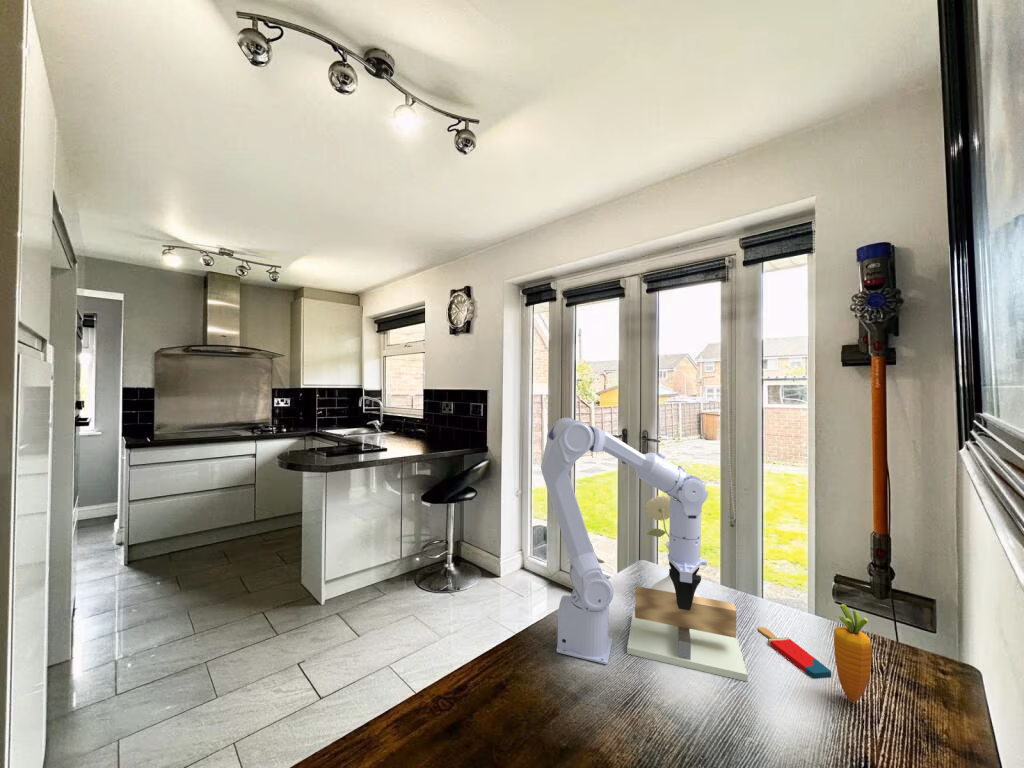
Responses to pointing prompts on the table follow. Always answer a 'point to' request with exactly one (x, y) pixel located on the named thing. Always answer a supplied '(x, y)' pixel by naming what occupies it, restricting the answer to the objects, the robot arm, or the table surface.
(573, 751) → the table surface
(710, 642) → the balance stand
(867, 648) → the carrot
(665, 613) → the wooden block
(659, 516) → the flower in vase
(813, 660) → the popsicle
